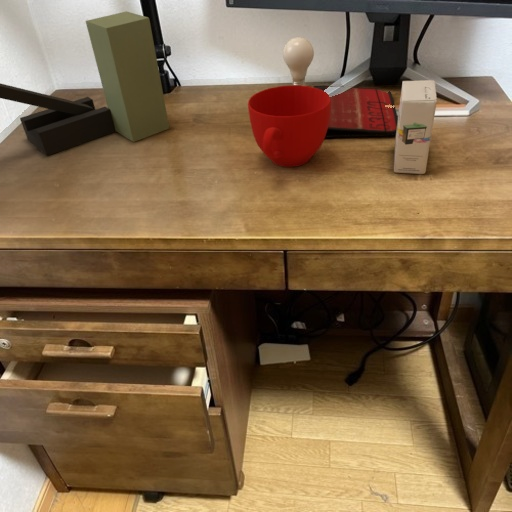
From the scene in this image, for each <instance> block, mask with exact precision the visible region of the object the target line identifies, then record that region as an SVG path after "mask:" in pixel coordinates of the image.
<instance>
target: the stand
mask: <svg viewBox="0 0 512 512" xmlns="http://www.w3.org/2000/svg"><path fill="white" fill-rule="evenodd" d="M85 24H86V29H87V33H88V37H89V41H90V44H91V48H92V51H93V56H94V61H95V63H96V67H97V70H98V75H99V78H100V82H101V86H102V91H103V94H104V99H105V101H106V105H107V106H106V107H107V108H109V109H110V111H111V115H112V119H113V122H114V126H115V130H116V132H117V133H118V134H119V135H121V136H123V137H125V139H127V140H129V141H131V142H132V143H135V142H137V141H141V140H143V139H145V138H149V137H151V136H154V135H157V134H159V133H162V132H164V131H166V130H170V124H169V118H168V113H167V108H166V101H165V97H164V91H163V86H162V80H161V74H160V69H159V64H158V58H157V53H156V48H155V43H154V37H153V31H152V25H151V21H150V18H149V17H148V16H144V15H141V14H138V13H134V12H130V11H122V12H117V13H113V14H109V15H104V16H101V17H97V18H92V19H88V20H85Z"/></svg>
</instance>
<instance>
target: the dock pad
mask: <svg viewBox="0 0 512 512" xmlns="http://www.w3.org/2000/svg"><path fill="white" fill-rule="evenodd" d="M73 101H74V102H78V103H82V104H86V105H88V106H90V107H92V108H93V111H90V112H87V113H84V114H81V115H73V114H69V113H64V112H60V111H55V110H51V109H44V110H40V111H38V112H34V113H31V114H28V115H24V116H21V117H19V120H20V122H21V125H22V128H23V131H24V133H25V136H26V138H27V140H28V141H29V142H30V143H31V144H32V145H34V147H36V148H37V149H38V150H40V152H42V153H43V154H44V155H45V156H47V157H48V156H51V155H54V154H56V153H57V154H58V153H60V152H62V151H65V150H68V149H71V148H74V147H76V146H80V145H82V144H85V143H87V142H90V141H93V140H97V139H99V138H101V137H105V136H107V135H111V134H113V133H115V132H116V130H115V126H114V122H113V119H112V115H111V111H110V109H109V108H108V106H102V107H99V108H96V107H95V103H94V99H93V98H91V97H90V96H85V97H83V98H79V99H76V100H73Z"/></svg>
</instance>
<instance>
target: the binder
mask: <svg viewBox="0 0 512 512" xmlns="http://www.w3.org/2000/svg"><path fill="white" fill-rule="evenodd" d="M329 86H330V85H313V86H312V87H314V88H317V89H320V90H322V91H324V90H325V89H327V88H328V87H329ZM353 87H354V88H352V89H350V90H348V91H346V92H343V93H341V94H338V95H335V96H332V97H330V100H331V108H330V118H329V124H328V129H327V133H326V136H325V138H343V137H344V138H345V137H346V138H347V137H373V136H374V137H375V136H376V137H386V136H396V130H397V122H398V114H397V109H396V106H395V107H394V108H393V107H392V108H390V107H389V108H388V107H385V105H389V104H390V105H392V106H393V105H395V101H394V97H393V94H392V92H390V91H391V90H390V91H389V92H388V93H386V92H383V91H380V90H377V89H378V88H380V89H381V88H382V87H360V86H353Z"/></svg>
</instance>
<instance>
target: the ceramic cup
mask: <svg viewBox="0 0 512 512" xmlns="http://www.w3.org/2000/svg"><path fill="white" fill-rule="evenodd" d="M330 108H331V100H330V97H329V95H328V94H327V93H326V92H324V91H322V90H320V89H317V88H314V87H313V86H308V85H305V86H298V85H293V84H292V85H280V86H273V87H269V88H265V89H263V90H261V91H258V92H256V93H254V94H253V95H252V96H251V97H250V98H249V99H248V101H247V109H248V117H249V121H250V126H251V131H252V135H253V137H254V141H255V142H256V144H257V146H258V148H259V149H260V151H261V152H262V153H263V154H264V155H265V156H266V158H268V159H269V160H271V162H272V163H273V164H274V165H277V166H280V167H284V168H285V167H286V168H291V167H292V168H293V167H299V166H302V165H305V164H306V163H308V162H309V161H310V159H311V158H312V157H313V156H314V155H315V154H317V152H318V151H319V149H320V148H321V147H322V145H323V143H324V140H325V138H326V137H325V136H326V133H327V129H328V124H329V118H330Z"/></svg>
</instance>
